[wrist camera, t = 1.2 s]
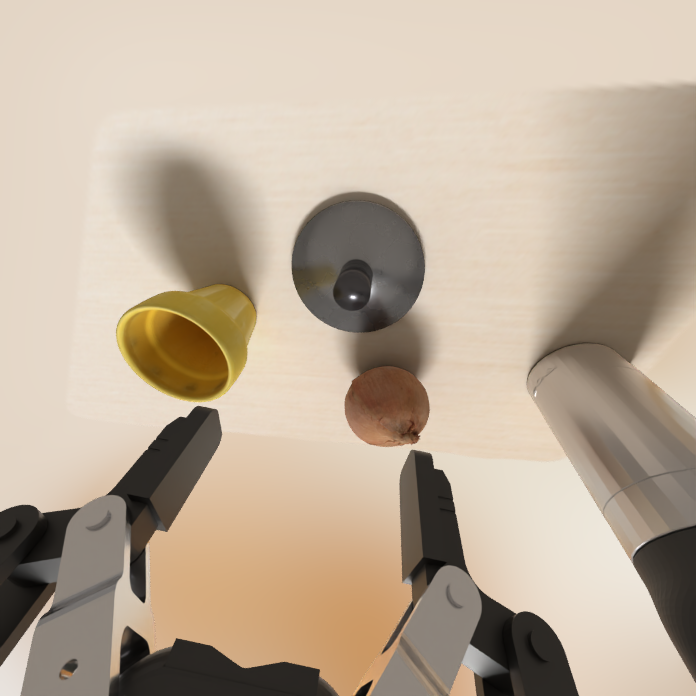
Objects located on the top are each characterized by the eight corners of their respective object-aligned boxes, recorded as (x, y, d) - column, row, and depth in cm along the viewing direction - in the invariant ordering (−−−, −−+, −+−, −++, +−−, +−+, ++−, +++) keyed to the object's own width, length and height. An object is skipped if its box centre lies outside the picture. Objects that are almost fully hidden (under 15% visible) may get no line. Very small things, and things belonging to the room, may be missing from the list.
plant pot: (175, 257, 29) (93, 294, 21) (271, 275, 29) (226, 319, 21) (192, 338, 35) (134, 392, 27) (272, 354, 35) (238, 412, 27)
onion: (415, 364, 37) (464, 421, 29) (370, 412, 39) (405, 476, 32) (366, 335, 31) (413, 396, 24) (318, 394, 34) (345, 466, 26)
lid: (442, 214, 24) (455, 227, 20) (403, 337, 32) (405, 367, 27) (297, 187, 24) (277, 193, 20) (292, 315, 32) (276, 341, 27)
